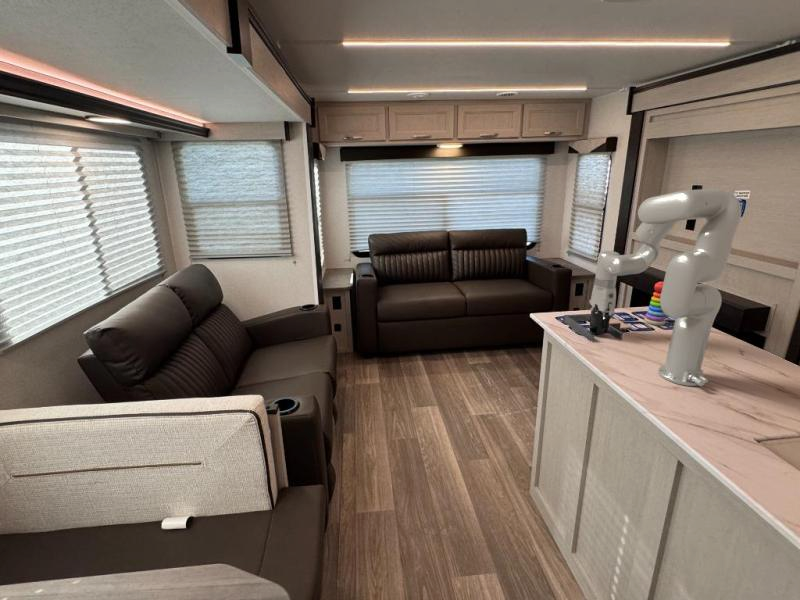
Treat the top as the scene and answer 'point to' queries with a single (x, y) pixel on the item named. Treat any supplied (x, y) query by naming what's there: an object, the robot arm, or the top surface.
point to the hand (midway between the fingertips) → (598, 324)
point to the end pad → (619, 322)
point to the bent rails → (572, 322)
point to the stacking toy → (655, 308)
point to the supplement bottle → (596, 321)
